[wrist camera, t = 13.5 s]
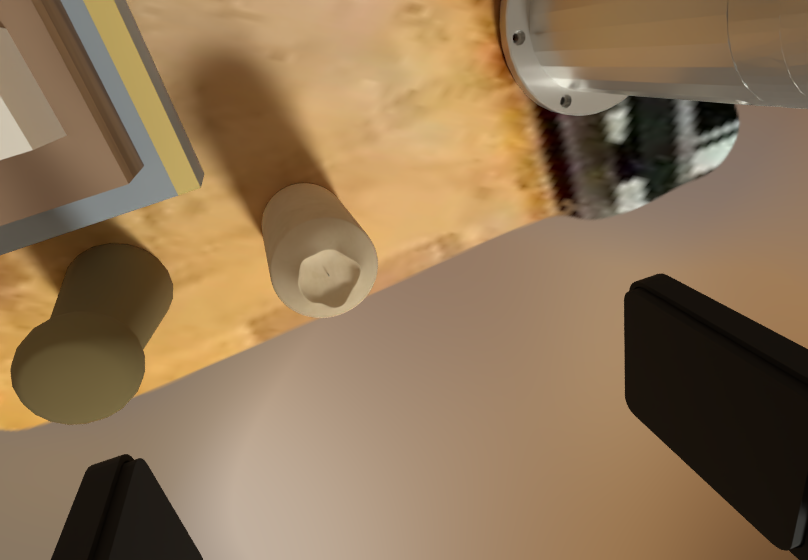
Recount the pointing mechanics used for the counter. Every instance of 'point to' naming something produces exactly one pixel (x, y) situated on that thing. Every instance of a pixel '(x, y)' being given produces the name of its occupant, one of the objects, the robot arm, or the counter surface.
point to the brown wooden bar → (63, 118)
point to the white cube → (22, 105)
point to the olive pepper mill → (93, 336)
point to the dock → (142, 118)
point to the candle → (316, 252)
